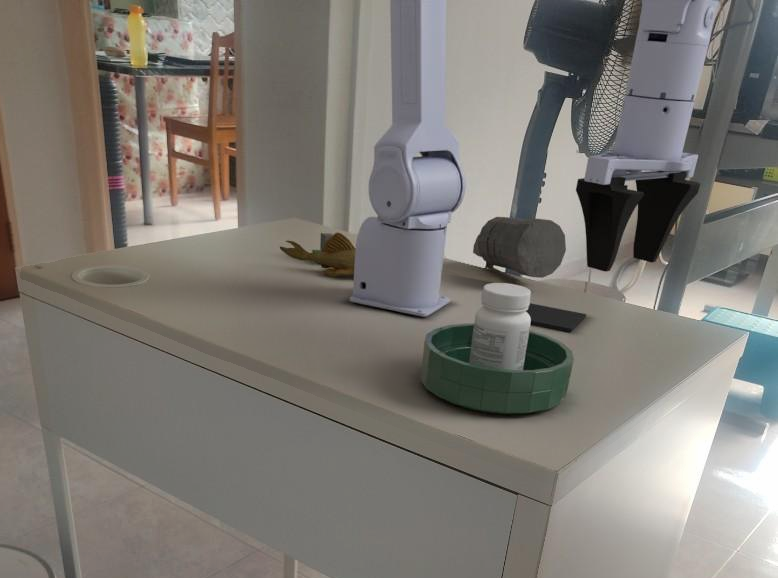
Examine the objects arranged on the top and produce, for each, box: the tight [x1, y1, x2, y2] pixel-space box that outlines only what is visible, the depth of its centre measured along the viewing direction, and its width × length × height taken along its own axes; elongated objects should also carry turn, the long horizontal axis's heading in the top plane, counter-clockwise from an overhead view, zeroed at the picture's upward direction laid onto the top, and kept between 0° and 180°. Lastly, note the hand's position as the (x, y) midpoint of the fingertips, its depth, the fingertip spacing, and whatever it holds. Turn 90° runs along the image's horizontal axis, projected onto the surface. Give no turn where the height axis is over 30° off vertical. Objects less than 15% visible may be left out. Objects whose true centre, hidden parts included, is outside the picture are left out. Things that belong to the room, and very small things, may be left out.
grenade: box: [472, 216, 567, 285], centre depth 109 cm, size 8×8×15 cm
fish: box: [279, 232, 356, 278], centre depth 104 cm, size 5×14×5 cm, turn 77°
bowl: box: [420, 322, 575, 415], centre depth 73 cm, size 13×13×4 cm
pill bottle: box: [469, 282, 532, 370], centre depth 72 cm, size 5×5×8 cm
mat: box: [526, 302, 587, 333], centre depth 95 cm, size 8×7×1 cm
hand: (622, 264), depth 77 cm, fingers open, 7 cm apart
